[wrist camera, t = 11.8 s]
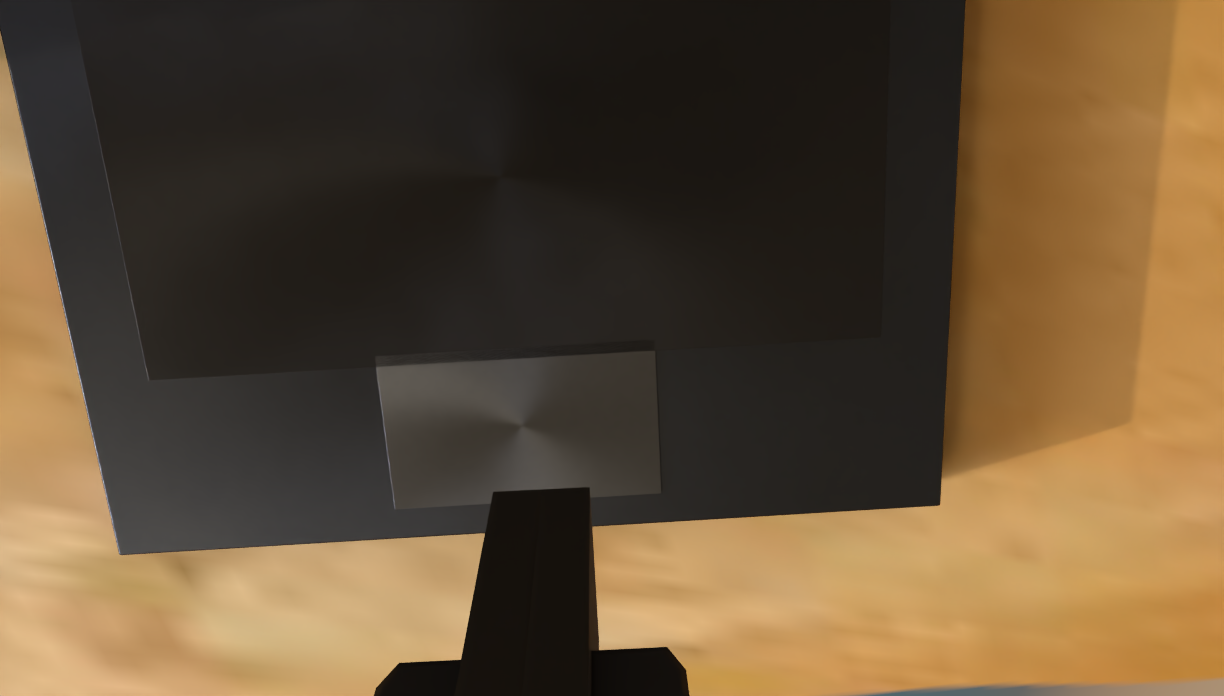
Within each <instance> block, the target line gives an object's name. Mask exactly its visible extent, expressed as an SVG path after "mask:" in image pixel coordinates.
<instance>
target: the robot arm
mask: <svg viewBox="0 0 1224 696" xmlns="http://www.w3.org/2000/svg"><path fill="white" fill-rule="evenodd" d="M374 696H689V690H688V682H687V674H686V670H685V668H684V667H683V666H682V665H681V663H680V662H679V661H678V660H677V659H676V657H675V656H674V655H673V654H672V652H671V651H670V650H669V649H668V648H667V647H659V648H639V649H618V650H599V635H598V618H597V601H596V585H595V568H594V551H593V534H592V517H591V500H590V487H580V488H559V489H539V490H519V491H499V492H493V495H492V500H491V505H490V511H489V516H488V521H487V526H486V532H485V537H484V542H483V548H482V553H481V558H480V563H479V569H478V574H477V579H476V585H475V590H474V595H473V600H472V606H471V611H470V616H469V621H468V627H467V632H466V637H465V643H464V648H463V653H462V658H461V660H450V661H430V662H410V663H399V664H398V665H397V666H396V667H395V668H394V669H393V670H392V671H391V673H390V674H389V675H388V676H387V677H386V678H385V679H384V680H383V681H382V682H381V683H380V684H379V686H378V687H377V688H376V690H375V694H374Z"/></svg>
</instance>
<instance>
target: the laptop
mask: <svg viewBox="0 0 1224 696" xmlns="http://www.w3.org/2000/svg"><path fill="white" fill-rule="evenodd" d="M965 1H966V0H0V31H1V36H2V40H3V44H4V49H5V53H6V58H7V62H8V66H9V71H10V75H11V80H12V84H13V88H14V93H15V97H16V102H17V106H18V110H19V115H20V119H21V124H22V128H23V132H24V137H25V141H26V146H27V150H28V154H29V159H30V163H31V168H32V172H33V176H34V181H35V185H36V190H37V194H38V198H39V203H40V207H41V212H42V216H43V220H44V225H45V229H46V234H47V238H48V242H49V247H50V251H51V256H52V260H53V265H54V269H55V273H56V278H57V282H58V287H59V291H60V295H61V300H62V304H63V309H64V313H65V317H66V322H67V326H68V331H69V335H70V339H71V344H72V348H73V353H74V357H75V361H76V366H77V370H78V375H79V379H80V383H81V388H82V392H83V397H84V401H85V405H86V410H87V414H88V419H89V423H90V427H91V432H92V436H93V441H94V445H95V449H96V454H97V458H98V463H99V467H100V471H101V476H102V480H103V485H104V489H105V493H106V498H107V502H108V507H109V511H110V515H111V520H112V524H113V529H114V533H115V537H116V542H117V546H118V551H119V554H120V555H129V554H146V553H162V552H179V551H195V550H212V549H229V548H245V547H262V546H278V545H295V544H311V543H328V542H344V541H361V540H377V539H394V538H410V537H427V536H443V535H460V534H476V533H485V532H486V526H487V521H488V516H489V511H490V505H491V500H492V495H493V492H499V491H519V490H539V489H559V488H580V487H590V500H591V517H592V526H609V525H625V524H642V523H658V522H675V521H691V520H708V519H724V518H741V517H757V516H774V515H790V514H807V513H823V512H840V511H857V510H873V509H890V508H906V507H923V506H938V505H940V497H941V477H942V458H943V438H944V418H945V398H946V378H947V358H948V339H949V319H950V299H951V279H952V259H953V239H954V220H955V200H956V180H957V160H958V140H959V120H960V101H961V81H962V61H963V41H964V21H965Z"/></svg>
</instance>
